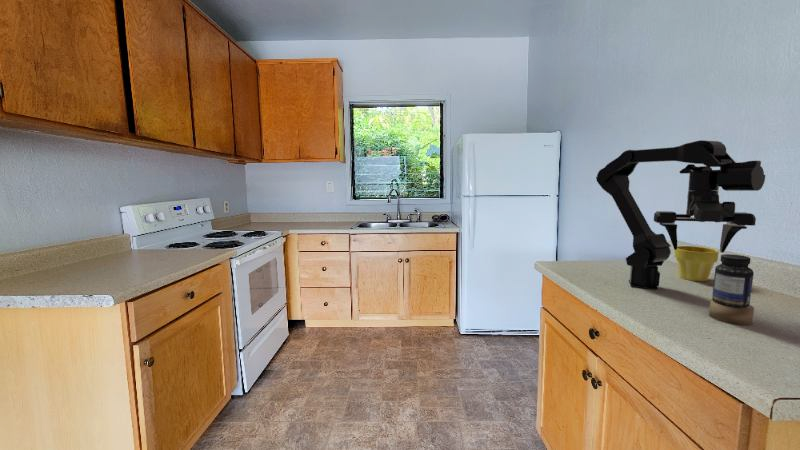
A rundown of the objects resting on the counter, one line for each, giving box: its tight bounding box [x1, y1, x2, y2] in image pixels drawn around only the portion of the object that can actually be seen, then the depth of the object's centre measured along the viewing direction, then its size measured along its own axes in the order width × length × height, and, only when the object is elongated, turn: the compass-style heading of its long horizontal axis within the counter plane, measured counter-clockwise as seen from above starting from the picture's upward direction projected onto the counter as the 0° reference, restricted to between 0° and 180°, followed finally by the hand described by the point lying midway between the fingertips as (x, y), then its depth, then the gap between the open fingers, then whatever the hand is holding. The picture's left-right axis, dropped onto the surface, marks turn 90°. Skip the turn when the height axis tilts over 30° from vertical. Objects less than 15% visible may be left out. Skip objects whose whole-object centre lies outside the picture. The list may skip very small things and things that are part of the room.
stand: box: [708, 298, 755, 326], centre depth 75 cm, size 7×7×4 cm
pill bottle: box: [711, 253, 755, 308], centre depth 75 cm, size 6×6×11 cm
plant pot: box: [673, 245, 720, 282], centre depth 106 cm, size 10×10×10 cm
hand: (698, 250), depth 86 cm, fingers open, 9 cm apart
